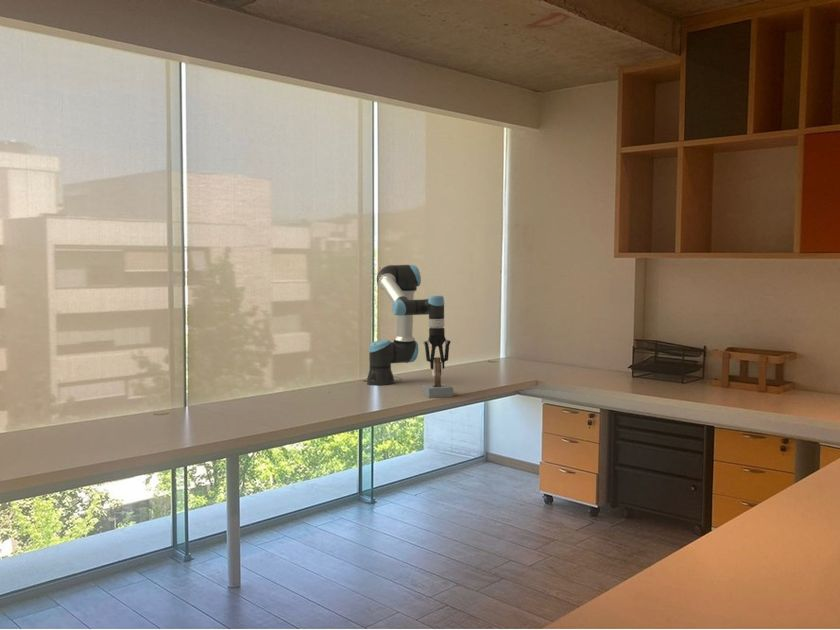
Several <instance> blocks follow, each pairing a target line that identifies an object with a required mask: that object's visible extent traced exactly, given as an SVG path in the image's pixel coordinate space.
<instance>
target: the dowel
mask: <svg viewBox="0 0 840 630" xmlns="http://www.w3.org/2000/svg"><path fill="white" fill-rule="evenodd" d="M440 362H441V358H440V356H439V357H438V356H437V357H435V356H434V363H435V375H436V376H434V384H435V387H441V384H442V376H441V363H440Z"/></svg>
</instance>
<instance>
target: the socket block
mask: <svg viewBox="0 0 840 630" xmlns="http://www.w3.org/2000/svg"><path fill="white" fill-rule="evenodd" d="M422 395H423V396H425V397H427V398H429V399H434V398H436V399H437V398H447V397H449V398H451V397H454V387H453V386H451V385H449V384H447V383H441V387H435V383H434V384H422Z"/></svg>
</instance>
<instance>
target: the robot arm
mask: <svg viewBox="0 0 840 630" xmlns="http://www.w3.org/2000/svg"><path fill="white" fill-rule="evenodd" d="M421 277H422V276H421V272H420V270H419V268H418V266H417V265H414V264H389V265H385V266H384V267H382V268H381V269H380V270H379V271H378V273H377V275H376V283H377V286H378V287H379V288H380V290H382V291H384V292H385V294H386V295H387V296H388V298H389V300H390V301H391V303H392V306H391V308H392V313H393V314H394V316H396V335H395V336H394V338H393V341H391V339H381V340H376V341H372V342H370V343H369V347H368V348H369V349H368V353H369V358H368V359H369V372H368V374H367V377H366V384H367V385H371V386H386V385H393V384H395V377H394V374H393V371H392V364H402V363H403V364H408V363H414V362H415V361H417V358H418V355H419V343H418V342H417V341H416V338H415V337H414V336H413V328H414V327H413V326H414V323H413V322H414V316H421V315H422V316H423V315H425V316H426V315H428V327H429V329H428V333H429V334H428V339H427V340H423V342H422V343H423V345H424V347H425V348H424V350H425V359H426V361H427V362H429V363H430V364H429V365H430V370H432V376H433V377H435V376H436V375H435V363H434V358H435V355H436V348H438V350H439V357H440V363H441V377H443V375H444V373H443V371H444V369H445V362H448V361H449V356H450V355H449V351H450V344H451V340H449V339H447V338H446V337H445V335H446V333H445V331H446V330H445V298H444V296H443V295H430V296H428V298H424V299H415V298H414V295H415V293H416V292H417V287H419V286H420V285H421V282H422V280H421V279H422V278H421ZM444 343H445V347H443V345H444ZM429 345H431V347H430V346H429ZM430 348H431V350H430ZM443 348H444V349H443Z"/></svg>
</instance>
